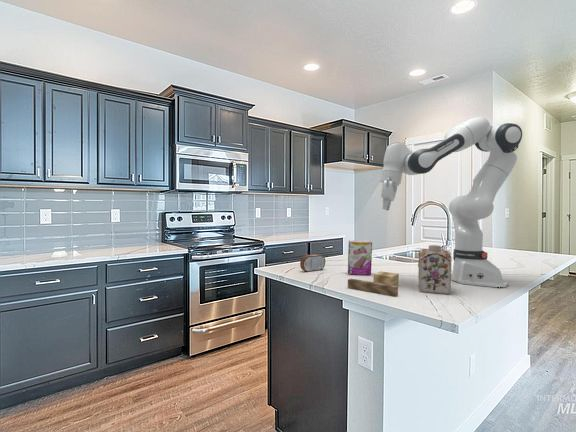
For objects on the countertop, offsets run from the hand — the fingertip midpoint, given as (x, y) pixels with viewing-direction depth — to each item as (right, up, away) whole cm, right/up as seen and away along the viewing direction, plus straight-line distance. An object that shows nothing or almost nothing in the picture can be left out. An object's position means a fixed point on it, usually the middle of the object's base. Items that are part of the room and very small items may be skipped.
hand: (385, 209), depth 151 cm
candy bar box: (-8, -32, +16) cm, 36 cm away
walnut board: (-11, -33, -17) cm, 38 cm away
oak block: (-2, -32, -6) cm, 33 cm away
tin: (-31, -31, +23) cm, 49 cm away
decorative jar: (+15, -33, -14) cm, 39 cm away
